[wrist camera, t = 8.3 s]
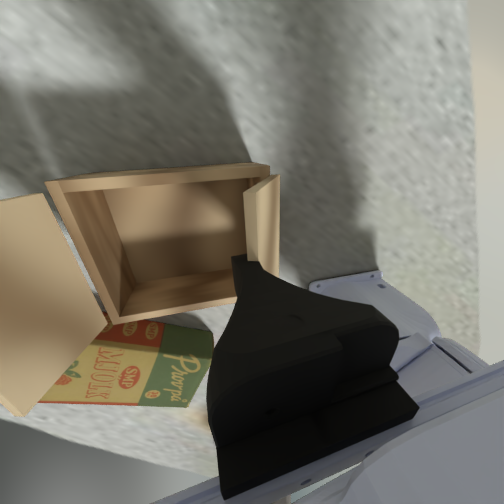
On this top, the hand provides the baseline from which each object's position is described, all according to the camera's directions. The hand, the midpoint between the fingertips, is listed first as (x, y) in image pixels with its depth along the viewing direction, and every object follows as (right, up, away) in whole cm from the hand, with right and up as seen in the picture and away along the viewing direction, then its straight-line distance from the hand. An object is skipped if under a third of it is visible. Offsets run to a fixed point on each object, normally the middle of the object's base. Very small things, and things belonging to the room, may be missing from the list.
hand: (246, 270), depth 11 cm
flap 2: (+1, 0, +1) cm, 2 cm away
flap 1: (-10, -1, -1) cm, 10 cm away
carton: (-13, -9, +12) cm, 20 cm away
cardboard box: (-5, +3, +7) cm, 9 cm away
